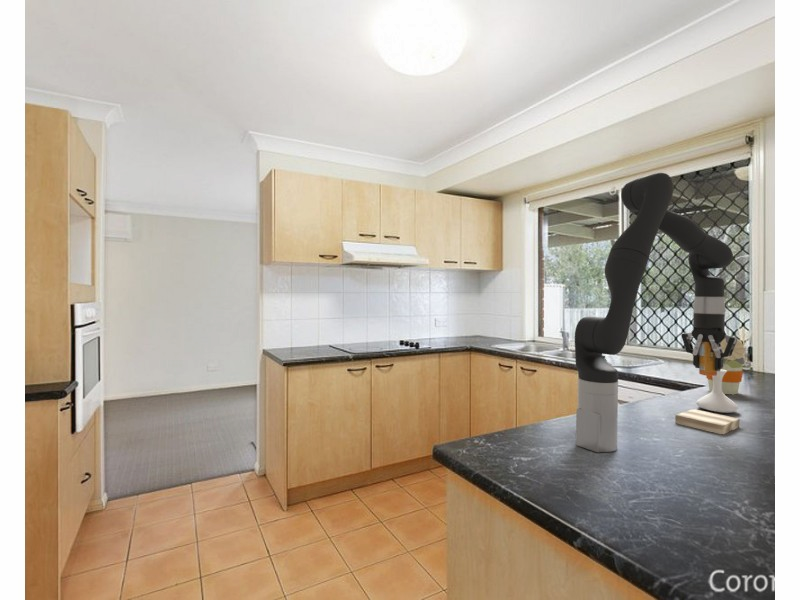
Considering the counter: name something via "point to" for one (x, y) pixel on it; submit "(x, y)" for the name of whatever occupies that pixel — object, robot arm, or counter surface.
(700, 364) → the supplement box
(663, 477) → the counter surface
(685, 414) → the birch base
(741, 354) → the flower in vase
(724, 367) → the reusable coffee cup
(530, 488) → the counter surface
